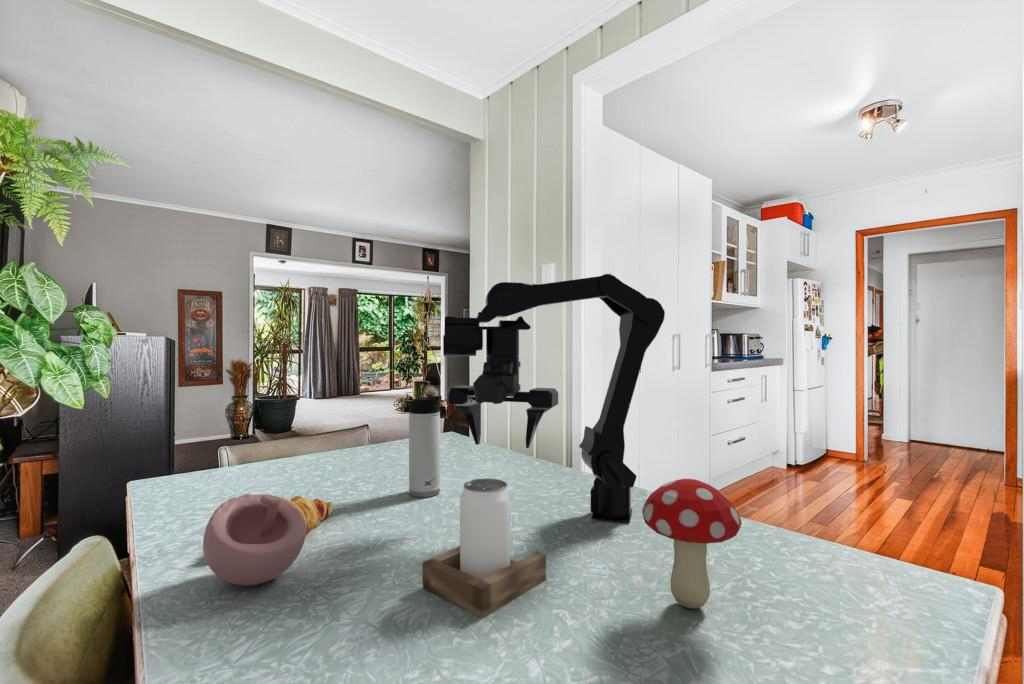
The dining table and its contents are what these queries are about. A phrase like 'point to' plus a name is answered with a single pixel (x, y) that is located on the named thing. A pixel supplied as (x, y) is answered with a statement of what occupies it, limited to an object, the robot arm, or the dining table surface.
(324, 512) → the croissant
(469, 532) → the can
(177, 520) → the dining table surface
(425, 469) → the travel mug
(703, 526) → the decorative mushroom
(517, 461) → the dining table surface
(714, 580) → the dining table surface
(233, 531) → the mortar and pestle
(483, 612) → the cradle
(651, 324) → the robot arm
